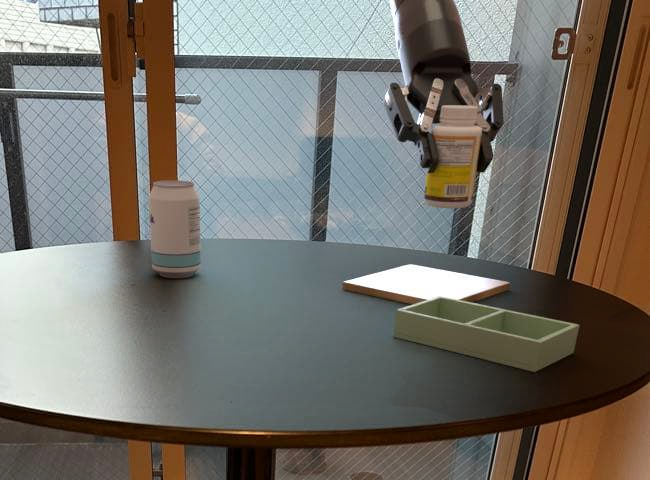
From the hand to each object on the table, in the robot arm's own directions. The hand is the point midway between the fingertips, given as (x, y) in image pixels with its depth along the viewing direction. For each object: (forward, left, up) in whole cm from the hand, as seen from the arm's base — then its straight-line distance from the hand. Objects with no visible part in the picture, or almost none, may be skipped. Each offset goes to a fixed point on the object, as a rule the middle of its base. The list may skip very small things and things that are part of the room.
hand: (458, 167), depth 90 cm
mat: (-8, -7, -16) cm, 20 cm away
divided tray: (+9, +11, -16) cm, 21 cm away
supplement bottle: (-1, -1, -4) cm, 5 cm away
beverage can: (+10, -37, -16) cm, 42 cm away
